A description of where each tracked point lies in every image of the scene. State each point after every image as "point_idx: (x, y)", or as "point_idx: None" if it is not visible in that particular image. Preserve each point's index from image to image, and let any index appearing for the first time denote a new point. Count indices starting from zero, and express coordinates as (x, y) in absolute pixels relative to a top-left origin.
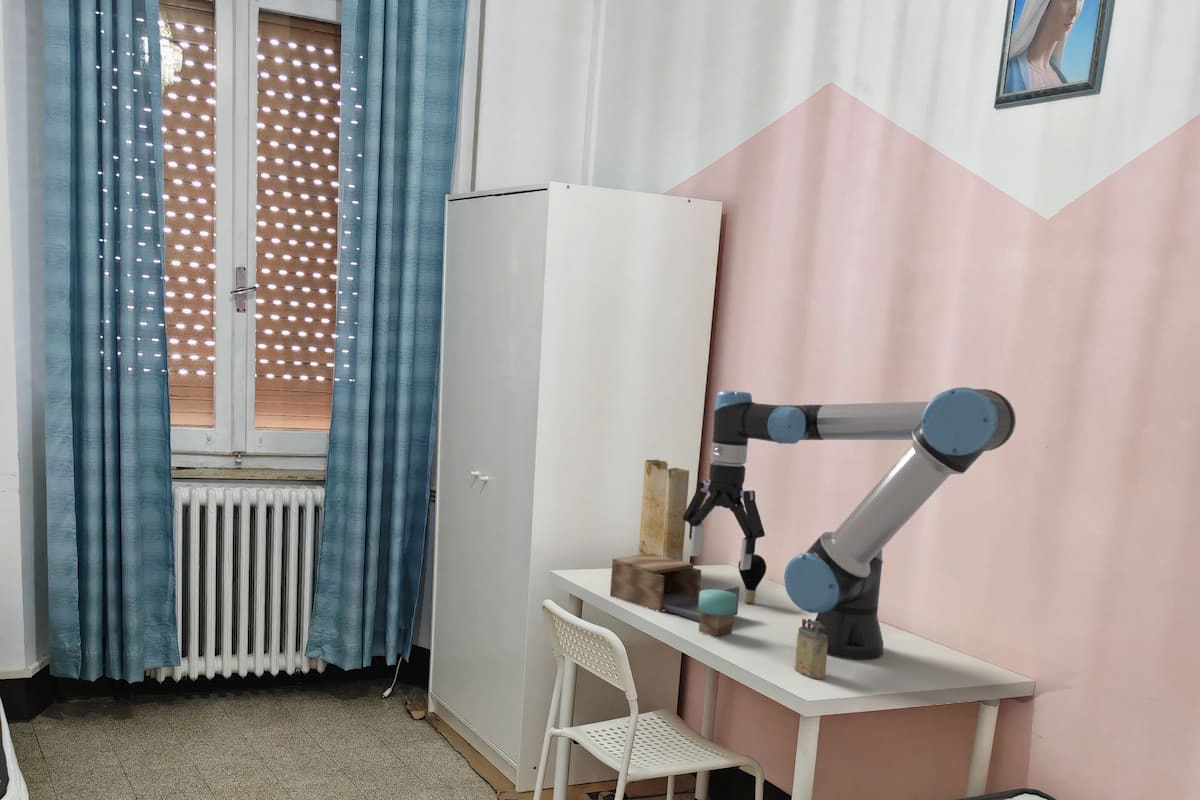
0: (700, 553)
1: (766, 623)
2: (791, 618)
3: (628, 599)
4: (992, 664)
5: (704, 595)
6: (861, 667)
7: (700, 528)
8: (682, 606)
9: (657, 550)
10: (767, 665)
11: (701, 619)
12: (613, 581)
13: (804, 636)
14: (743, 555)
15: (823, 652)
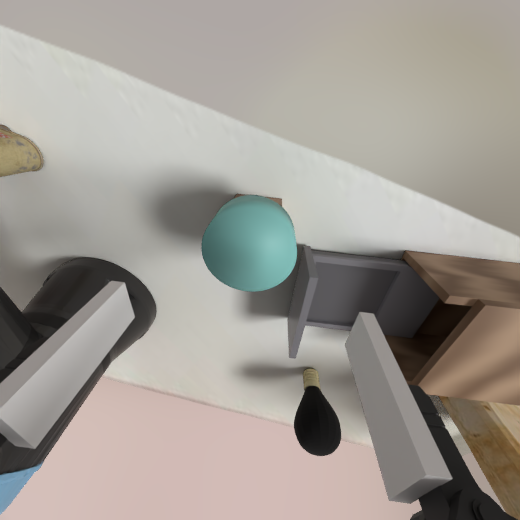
0: (346, 349)
1: (240, 318)
2: (235, 353)
3: (492, 262)
4: None
5: (262, 214)
6: (29, 245)
7: (391, 473)
8: (372, 286)
9: (516, 435)
10: (67, 118)
11: None
12: None
13: None
14: (66, 323)
15: None
